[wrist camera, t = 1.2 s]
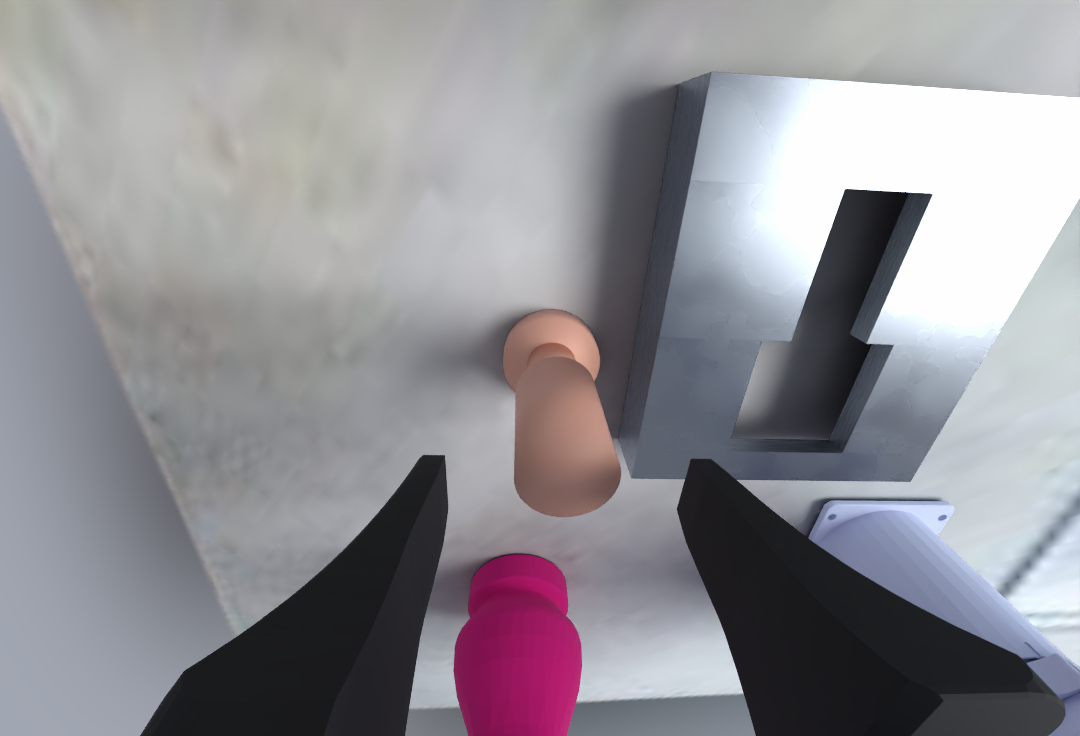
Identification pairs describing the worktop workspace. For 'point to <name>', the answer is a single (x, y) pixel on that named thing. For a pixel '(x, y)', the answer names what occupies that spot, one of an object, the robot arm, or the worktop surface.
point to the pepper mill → (518, 651)
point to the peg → (559, 416)
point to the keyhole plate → (796, 247)
